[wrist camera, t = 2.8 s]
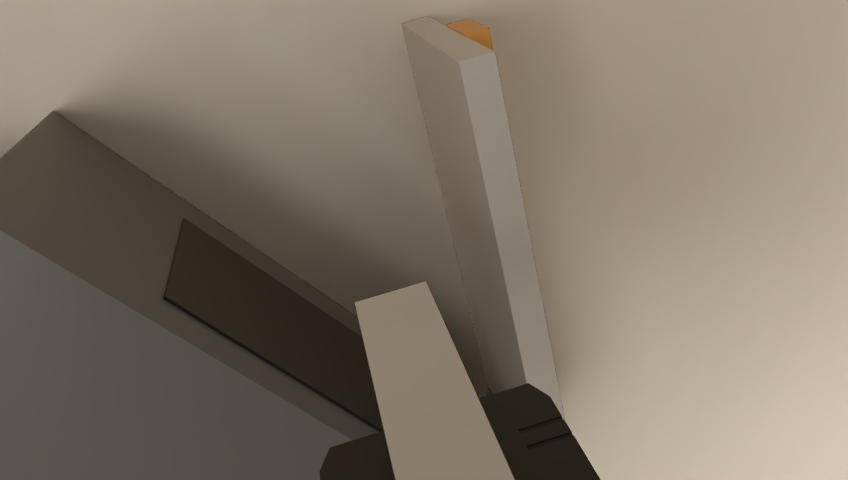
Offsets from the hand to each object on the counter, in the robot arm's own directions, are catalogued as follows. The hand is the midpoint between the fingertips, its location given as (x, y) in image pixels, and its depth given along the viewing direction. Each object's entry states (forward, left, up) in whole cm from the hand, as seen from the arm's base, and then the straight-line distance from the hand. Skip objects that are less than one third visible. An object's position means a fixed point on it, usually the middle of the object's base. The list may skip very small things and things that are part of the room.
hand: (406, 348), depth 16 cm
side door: (+4, +2, -9) cm, 10 cm away
